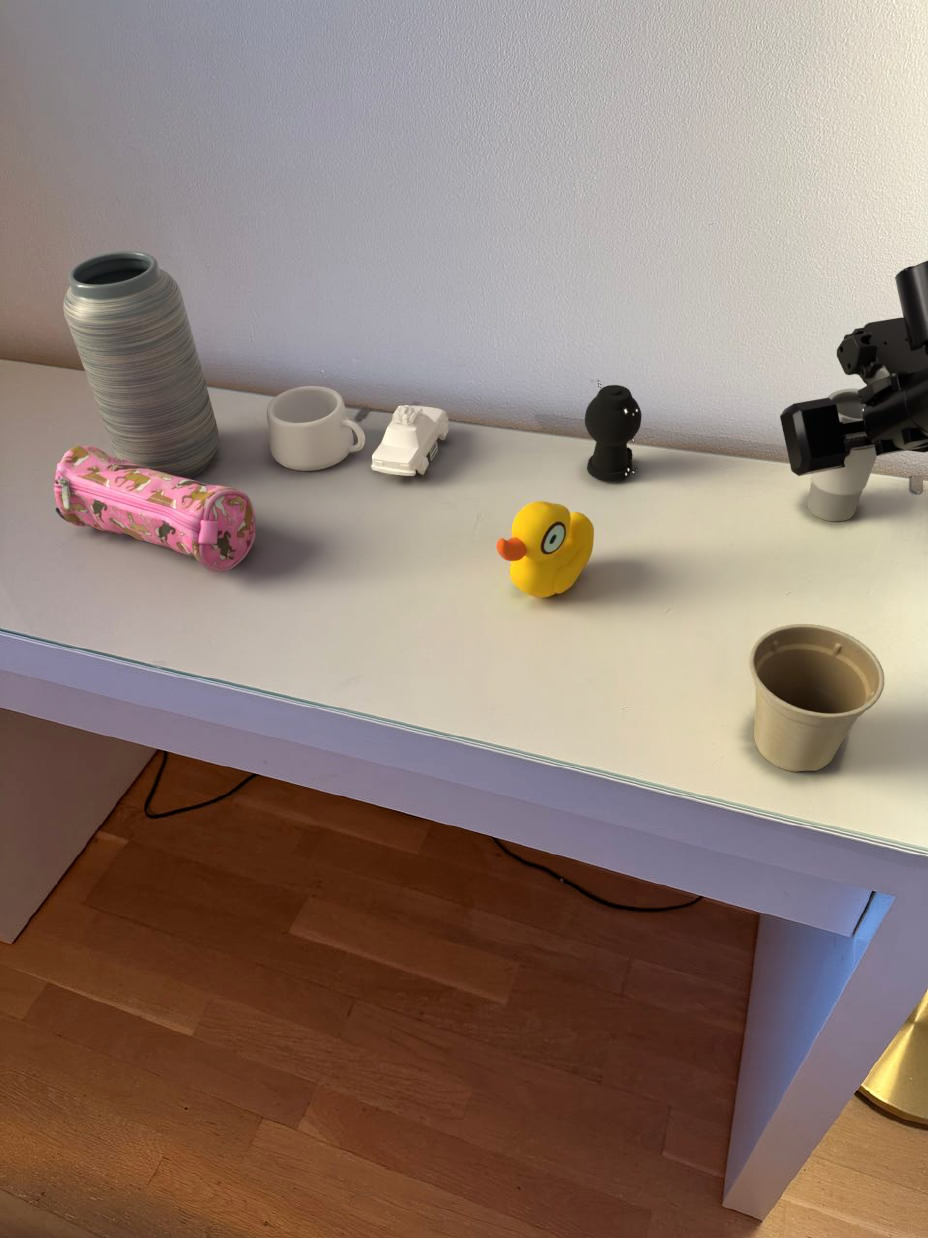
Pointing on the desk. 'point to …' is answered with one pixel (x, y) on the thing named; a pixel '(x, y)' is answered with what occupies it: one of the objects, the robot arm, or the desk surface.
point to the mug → (311, 429)
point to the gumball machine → (612, 432)
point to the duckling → (547, 548)
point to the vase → (142, 362)
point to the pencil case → (155, 507)
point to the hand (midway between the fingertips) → (838, 445)
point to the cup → (843, 486)
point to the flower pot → (810, 692)
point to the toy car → (410, 440)
